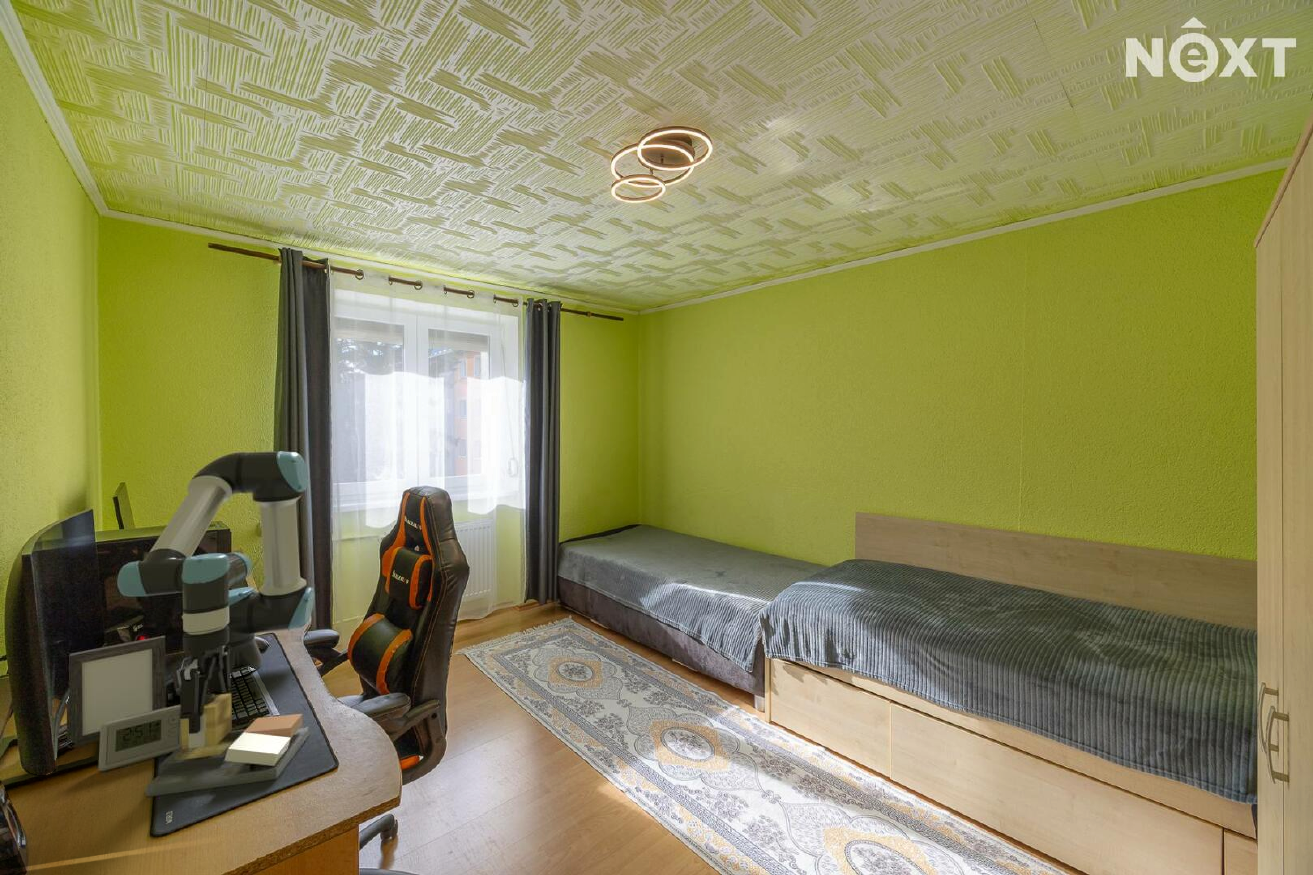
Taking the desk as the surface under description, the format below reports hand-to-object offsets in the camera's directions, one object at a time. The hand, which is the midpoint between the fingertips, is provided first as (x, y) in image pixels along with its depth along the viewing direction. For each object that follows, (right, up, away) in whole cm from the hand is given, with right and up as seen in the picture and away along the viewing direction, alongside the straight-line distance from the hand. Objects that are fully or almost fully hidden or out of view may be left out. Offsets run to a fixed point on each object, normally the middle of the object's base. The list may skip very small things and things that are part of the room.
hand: (207, 737), depth 112 cm
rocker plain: (+13, -2, -3) cm, 13 cm away
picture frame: (-30, -6, +11) cm, 32 cm away
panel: (+6, -5, 0) cm, 8 cm away
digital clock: (-16, -6, +3) cm, 17 cm away
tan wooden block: (0, 0, 0) cm, 0 cm away
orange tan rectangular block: (+11, -2, +5) cm, 12 cm away
